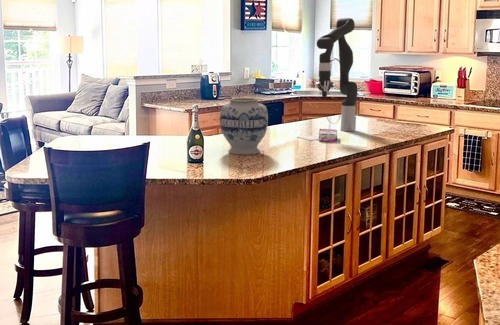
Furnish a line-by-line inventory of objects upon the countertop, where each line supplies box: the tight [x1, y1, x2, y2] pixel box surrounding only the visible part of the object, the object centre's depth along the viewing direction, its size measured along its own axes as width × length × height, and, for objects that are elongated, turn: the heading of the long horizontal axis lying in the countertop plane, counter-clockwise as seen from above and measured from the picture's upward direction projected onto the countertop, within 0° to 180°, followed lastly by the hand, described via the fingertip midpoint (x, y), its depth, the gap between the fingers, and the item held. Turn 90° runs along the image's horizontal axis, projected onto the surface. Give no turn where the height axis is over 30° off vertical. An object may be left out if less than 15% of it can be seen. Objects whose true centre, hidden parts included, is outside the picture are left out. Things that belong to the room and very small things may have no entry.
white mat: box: [297, 134, 319, 141], centre depth 403 cm, size 16×14×1 cm
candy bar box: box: [318, 128, 338, 143], centre depth 396 cm, size 11×5×16 cm
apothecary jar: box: [219, 97, 269, 156], centre depth 352 cm, size 27×27×30 cm
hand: (324, 97), depth 402 cm, fingers closed
